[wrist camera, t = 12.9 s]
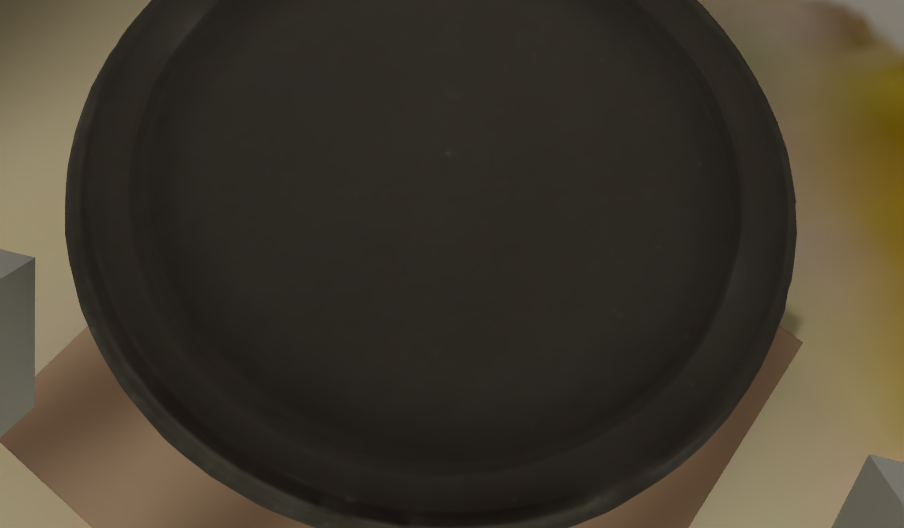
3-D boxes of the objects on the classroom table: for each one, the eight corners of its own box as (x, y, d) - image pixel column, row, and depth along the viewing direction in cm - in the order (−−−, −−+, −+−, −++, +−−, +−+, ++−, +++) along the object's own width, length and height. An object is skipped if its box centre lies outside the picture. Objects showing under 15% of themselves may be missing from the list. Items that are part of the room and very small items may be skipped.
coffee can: (226, 263, 25) (44, -78, 12) (531, 209, 26) (667, -145, 13) (270, 602, 21) (79, 647, 8) (620, 518, 23) (924, 442, 10)
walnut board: (-1, 432, 23) (-17, 426, 23) (382, 60, 30) (381, 44, 29) (466, 865, 20) (470, 879, 19) (788, 350, 26) (803, 342, 25)
